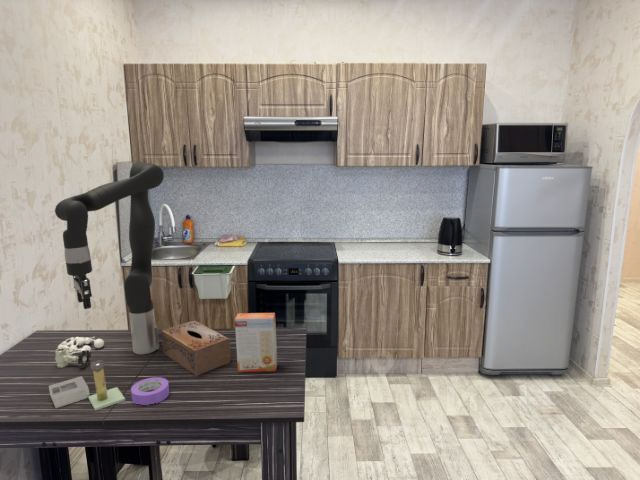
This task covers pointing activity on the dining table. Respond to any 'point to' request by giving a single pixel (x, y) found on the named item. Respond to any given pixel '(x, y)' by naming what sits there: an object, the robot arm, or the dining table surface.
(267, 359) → the cracker box
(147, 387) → the masking tape
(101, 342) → the tangled rod sculpture
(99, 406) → the pad
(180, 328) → the tissue box cover
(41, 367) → the dining table surface
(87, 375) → the dining table surface
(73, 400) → the block
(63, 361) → the valve
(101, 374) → the knob
